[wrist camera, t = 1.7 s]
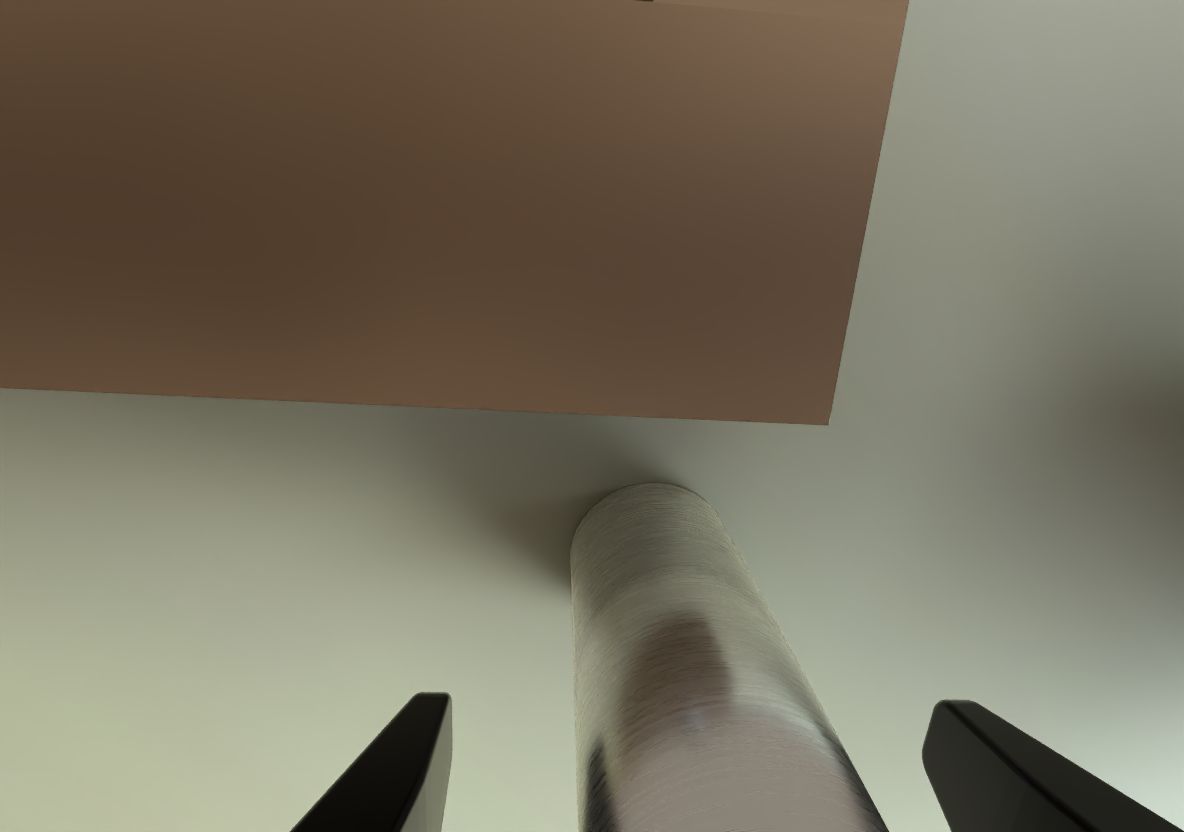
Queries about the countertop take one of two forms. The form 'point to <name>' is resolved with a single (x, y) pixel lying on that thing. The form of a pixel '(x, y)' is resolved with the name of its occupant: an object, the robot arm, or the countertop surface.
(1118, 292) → the countertop surface
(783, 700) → the steel pin
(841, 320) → the hole block
